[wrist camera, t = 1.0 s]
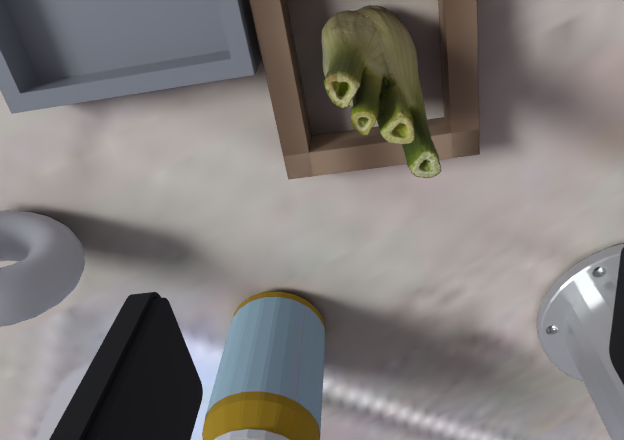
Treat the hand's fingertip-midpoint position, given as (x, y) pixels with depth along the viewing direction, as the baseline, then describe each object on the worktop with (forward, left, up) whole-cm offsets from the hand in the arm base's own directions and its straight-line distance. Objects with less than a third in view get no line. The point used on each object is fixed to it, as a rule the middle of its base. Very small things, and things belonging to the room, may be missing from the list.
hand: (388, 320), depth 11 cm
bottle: (+9, +19, -23) cm, 31 cm away
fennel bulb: (0, 0, -23) cm, 23 cm away
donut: (+24, +8, -23) cm, 34 cm away
